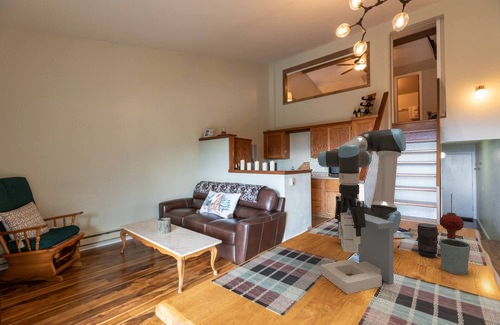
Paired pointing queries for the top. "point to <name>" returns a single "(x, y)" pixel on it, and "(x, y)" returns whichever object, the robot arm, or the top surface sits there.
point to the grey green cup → (454, 256)
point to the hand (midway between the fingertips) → (349, 240)
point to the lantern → (451, 223)
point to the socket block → (366, 259)
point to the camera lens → (427, 240)
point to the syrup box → (347, 233)
